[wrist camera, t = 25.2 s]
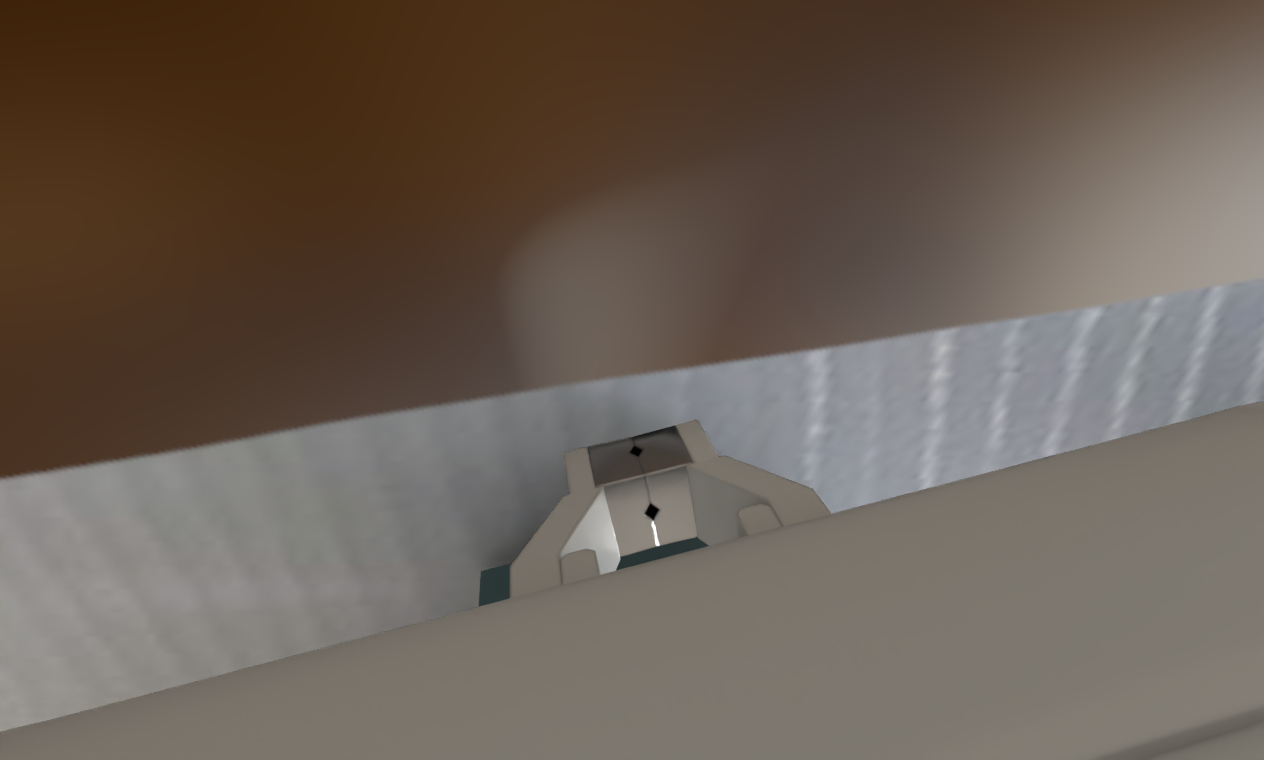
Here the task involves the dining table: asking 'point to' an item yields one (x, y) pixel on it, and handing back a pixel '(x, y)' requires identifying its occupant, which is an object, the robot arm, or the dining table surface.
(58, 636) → the dining table surface
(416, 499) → the dining table surface
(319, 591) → the dining table surface
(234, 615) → the dining table surface
